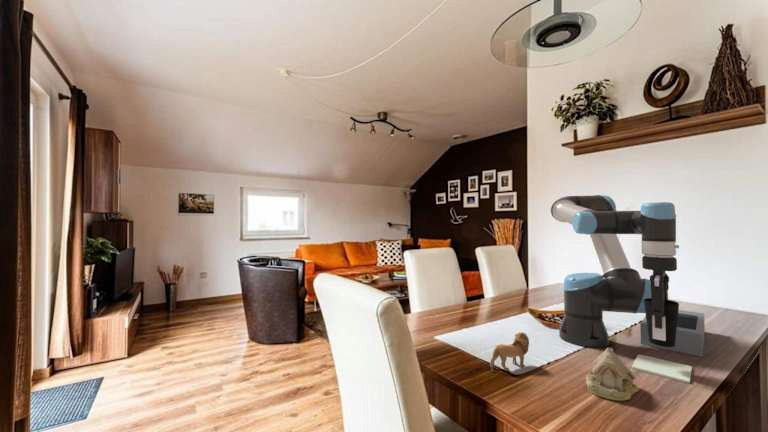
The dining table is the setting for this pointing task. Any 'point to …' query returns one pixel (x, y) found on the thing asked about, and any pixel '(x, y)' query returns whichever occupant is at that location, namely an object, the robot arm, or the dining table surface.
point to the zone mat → (663, 368)
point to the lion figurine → (511, 351)
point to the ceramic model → (611, 377)
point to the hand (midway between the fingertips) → (660, 335)
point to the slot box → (683, 333)
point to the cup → (670, 322)
